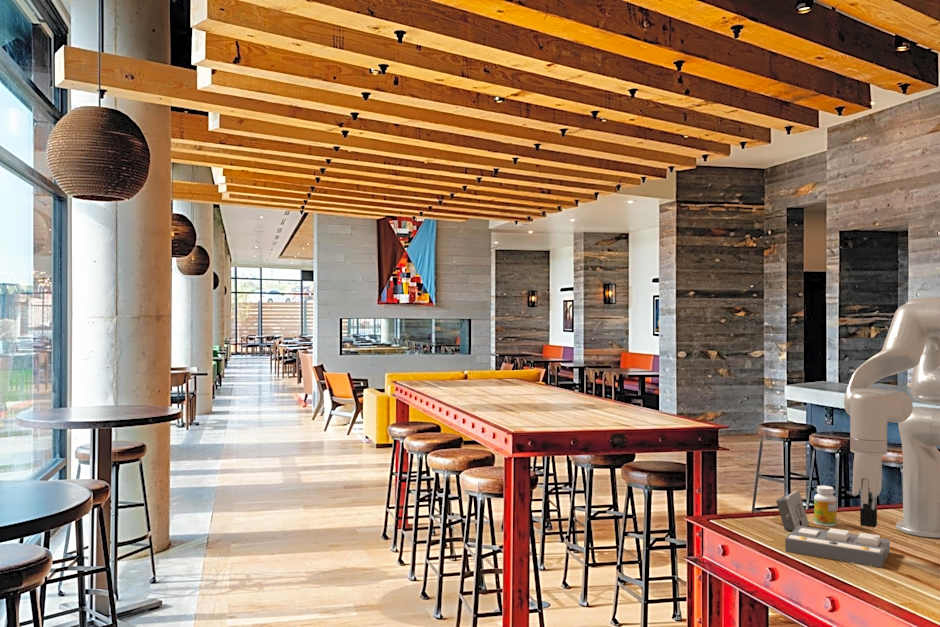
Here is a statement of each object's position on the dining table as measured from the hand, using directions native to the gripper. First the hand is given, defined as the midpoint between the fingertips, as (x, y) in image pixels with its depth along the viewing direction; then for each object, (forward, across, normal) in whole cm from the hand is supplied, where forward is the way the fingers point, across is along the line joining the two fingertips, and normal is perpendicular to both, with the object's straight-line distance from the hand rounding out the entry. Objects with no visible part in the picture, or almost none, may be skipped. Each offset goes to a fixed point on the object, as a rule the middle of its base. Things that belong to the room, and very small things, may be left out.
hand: (868, 525), depth 173 cm
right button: (+5, 0, 0) cm, 5 cm away
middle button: (+5, 0, -6) cm, 8 cm away
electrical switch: (+7, -14, -19) cm, 25 cm away
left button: (+6, 0, -13) cm, 14 cm away
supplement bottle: (+7, -23, -13) cm, 27 cm away
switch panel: (+7, +1, -6) cm, 10 cm away
